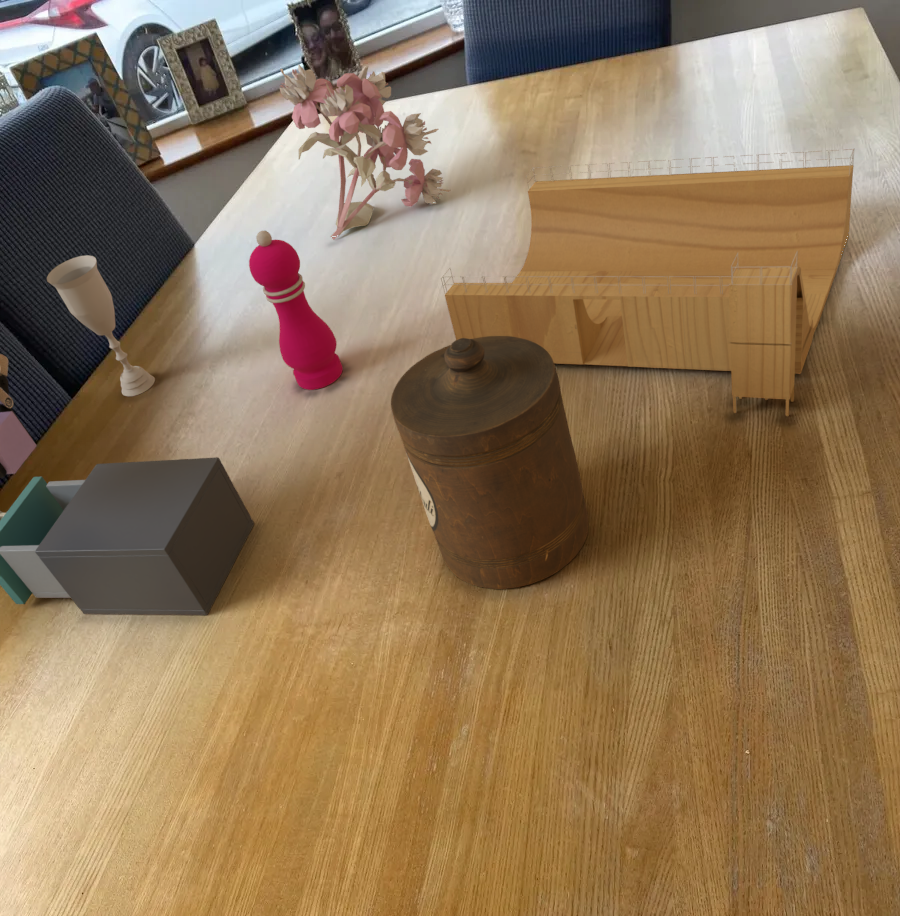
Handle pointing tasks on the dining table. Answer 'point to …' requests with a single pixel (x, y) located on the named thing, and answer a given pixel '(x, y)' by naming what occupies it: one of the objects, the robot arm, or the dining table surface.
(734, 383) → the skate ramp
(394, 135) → the flower
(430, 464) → the wooden container
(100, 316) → the chalice
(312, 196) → the dining table surface
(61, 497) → the drawer
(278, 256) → the pepper mill
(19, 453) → the pink cube
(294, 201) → the dining table surface
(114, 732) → the dining table surface
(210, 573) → the cabinet
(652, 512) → the dining table surface
